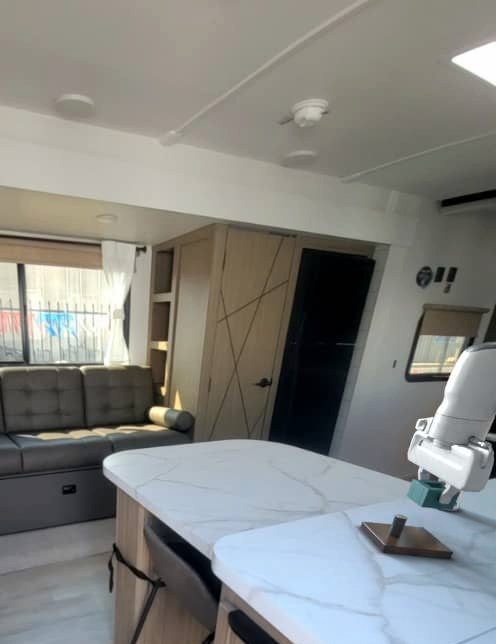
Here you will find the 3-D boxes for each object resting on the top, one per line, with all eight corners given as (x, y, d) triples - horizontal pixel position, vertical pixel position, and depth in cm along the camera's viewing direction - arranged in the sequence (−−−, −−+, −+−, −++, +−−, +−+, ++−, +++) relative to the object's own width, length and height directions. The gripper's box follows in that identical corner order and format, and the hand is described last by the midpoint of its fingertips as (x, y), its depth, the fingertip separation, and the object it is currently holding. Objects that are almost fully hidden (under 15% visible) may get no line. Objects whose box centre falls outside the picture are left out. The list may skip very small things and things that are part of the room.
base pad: (420, 533, 84) (430, 509, 82) (450, 558, 75) (462, 532, 73) (360, 527, 85) (368, 504, 83) (382, 552, 76) (392, 526, 74)
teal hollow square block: (435, 498, 88) (442, 481, 87) (452, 509, 83) (460, 491, 81) (406, 496, 89) (412, 479, 87) (421, 507, 84) (428, 489, 82)
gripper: (516, 446, 70) (481, 518, 76) (443, 420, 88) (420, 479, 94) (476, 444, 70) (445, 515, 76) (413, 418, 89) (392, 477, 95)
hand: (431, 495), depth 85 cm, fingers closed on teal hollow square block, 6 cm apart
